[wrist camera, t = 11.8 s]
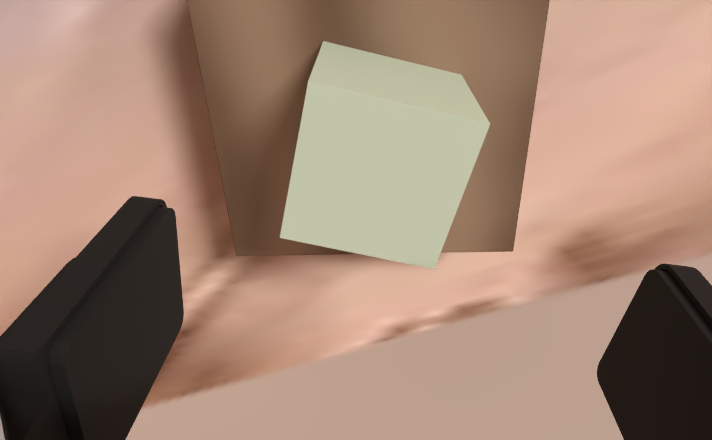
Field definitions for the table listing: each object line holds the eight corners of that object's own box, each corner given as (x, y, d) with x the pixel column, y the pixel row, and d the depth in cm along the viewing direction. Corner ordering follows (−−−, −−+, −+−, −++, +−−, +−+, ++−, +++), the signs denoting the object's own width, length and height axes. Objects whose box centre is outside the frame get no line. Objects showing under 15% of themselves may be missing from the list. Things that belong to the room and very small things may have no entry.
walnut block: (519, -74, 20) (559, -71, 16) (489, 196, 26) (512, 251, 22) (217, -61, 20) (176, -55, 16) (258, 201, 27) (236, 255, 22)
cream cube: (461, 74, 18) (490, 124, 14) (420, 195, 20) (434, 269, 16) (323, 40, 18) (308, 81, 13) (299, 169, 20) (279, 237, 16)
